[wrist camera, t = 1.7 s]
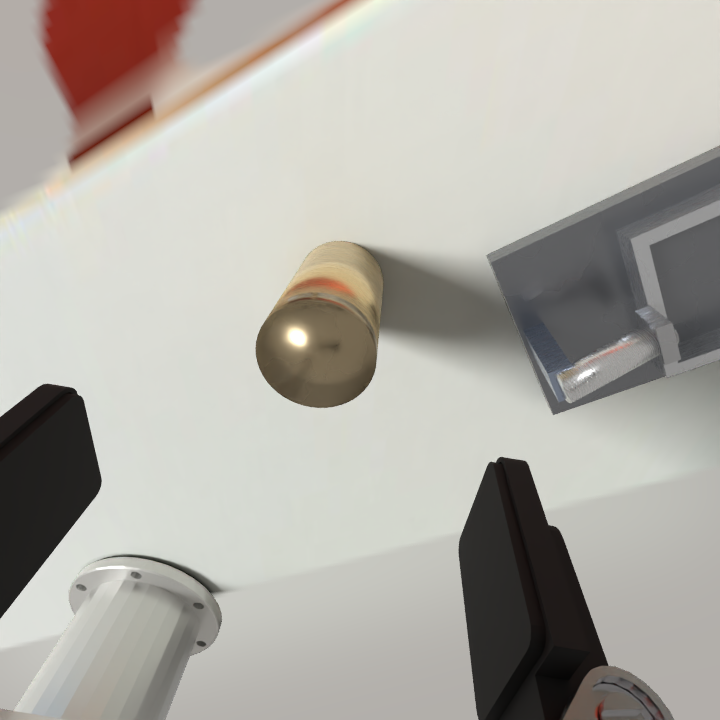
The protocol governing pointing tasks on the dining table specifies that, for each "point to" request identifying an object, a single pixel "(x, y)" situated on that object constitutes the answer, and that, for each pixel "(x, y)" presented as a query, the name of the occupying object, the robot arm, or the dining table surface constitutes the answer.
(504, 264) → the coupling stand
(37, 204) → the dining table surface
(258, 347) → the cylinder
